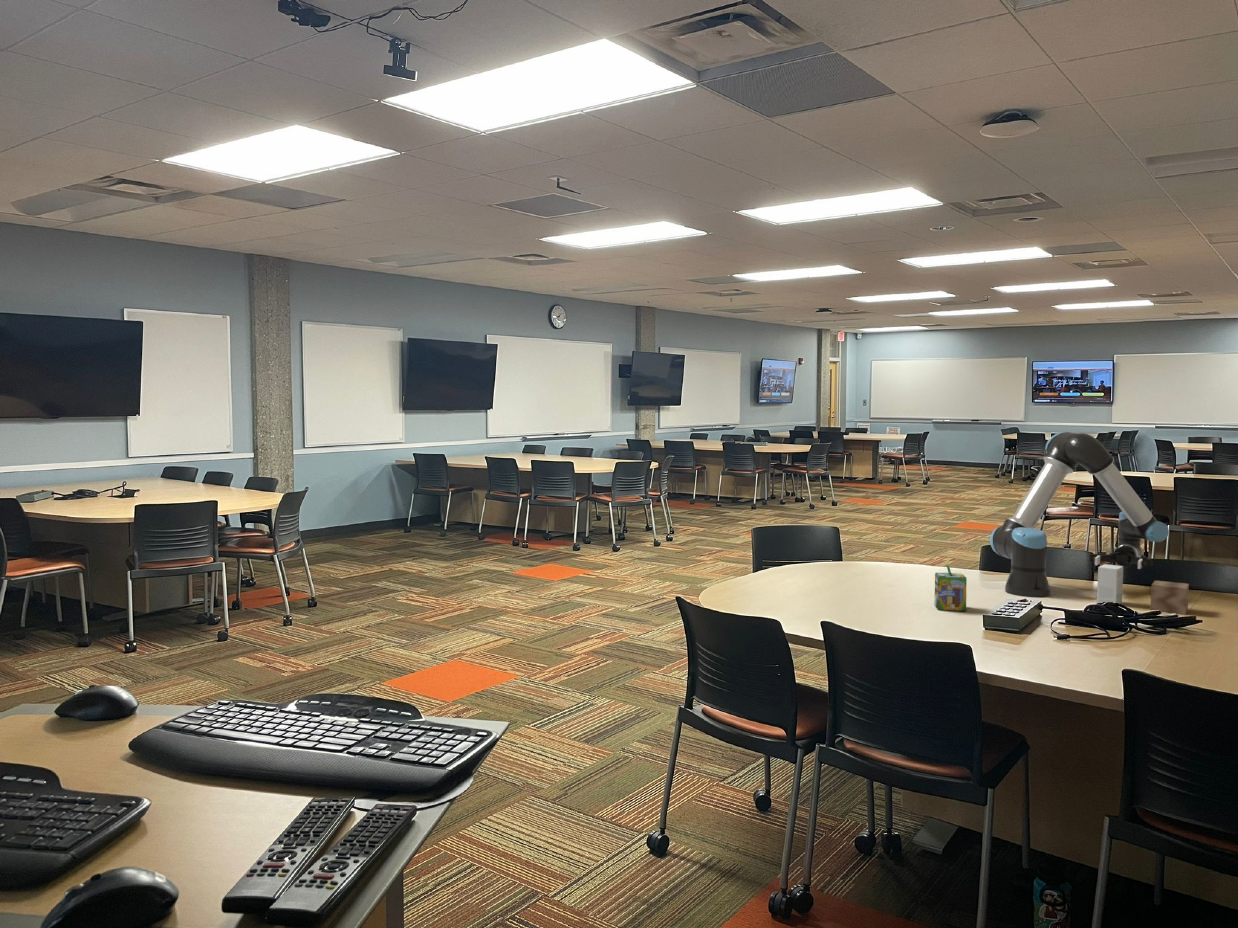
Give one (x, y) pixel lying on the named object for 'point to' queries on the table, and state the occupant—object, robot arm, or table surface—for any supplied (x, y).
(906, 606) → the table surface
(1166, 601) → the walnut block
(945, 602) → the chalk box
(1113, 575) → the small box
